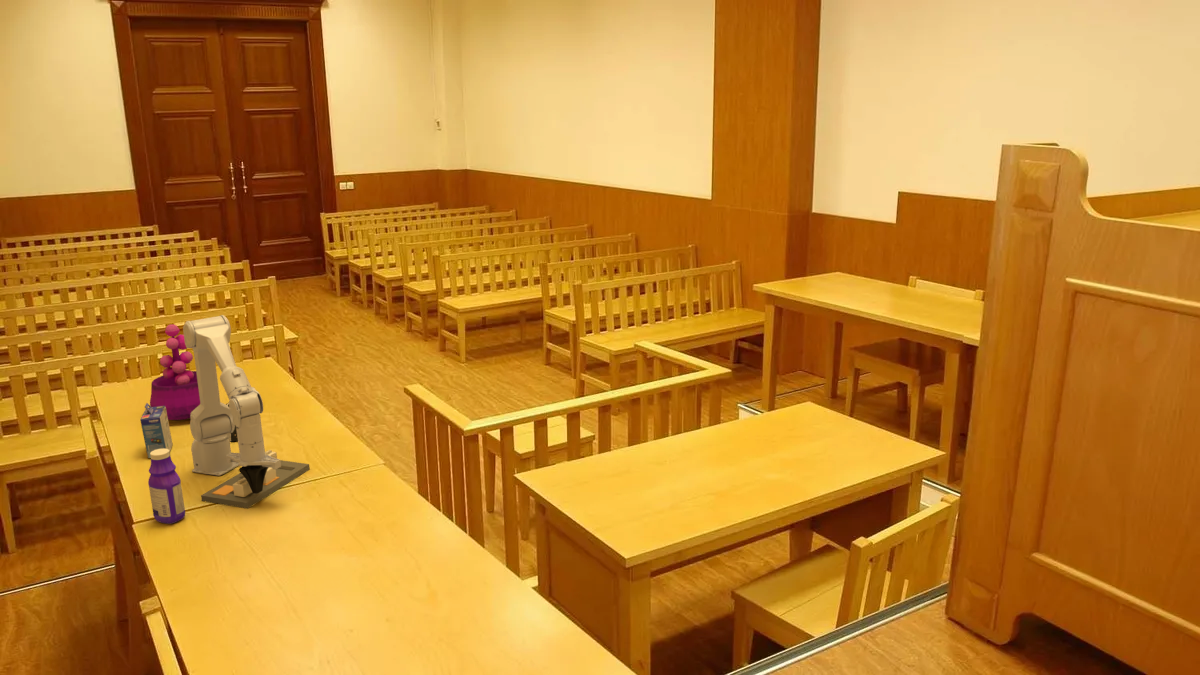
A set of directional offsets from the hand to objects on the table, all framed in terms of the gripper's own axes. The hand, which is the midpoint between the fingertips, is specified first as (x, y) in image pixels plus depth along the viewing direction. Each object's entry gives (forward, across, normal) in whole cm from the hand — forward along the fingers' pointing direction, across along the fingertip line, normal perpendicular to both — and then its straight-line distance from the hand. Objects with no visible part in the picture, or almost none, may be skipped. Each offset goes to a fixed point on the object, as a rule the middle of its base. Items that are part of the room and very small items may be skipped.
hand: (257, 491), depth 213 cm
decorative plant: (+3, -64, +43) cm, 77 cm away
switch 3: (+1, -4, +8) cm, 9 cm away
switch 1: (+1, -4, 0) cm, 4 cm away
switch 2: (+1, -10, +16) cm, 19 cm away
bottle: (+3, -14, -14) cm, 20 cm away
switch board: (+3, -7, +8) cm, 11 cm away
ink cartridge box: (+3, -49, +18) cm, 52 cm away
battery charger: (+3, -34, +33) cm, 47 cm away
